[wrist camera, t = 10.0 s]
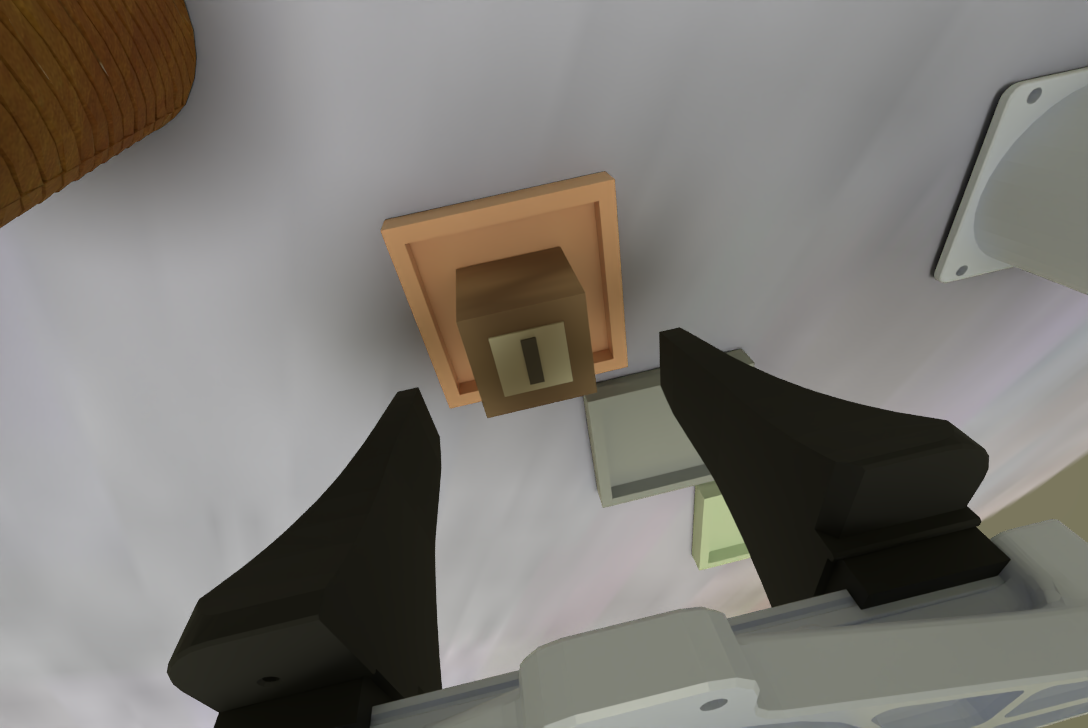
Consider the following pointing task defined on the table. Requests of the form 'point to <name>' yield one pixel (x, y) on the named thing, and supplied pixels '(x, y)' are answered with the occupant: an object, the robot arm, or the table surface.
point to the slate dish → (640, 439)
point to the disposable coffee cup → (84, 87)
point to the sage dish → (714, 530)
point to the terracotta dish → (502, 232)
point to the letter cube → (525, 331)
